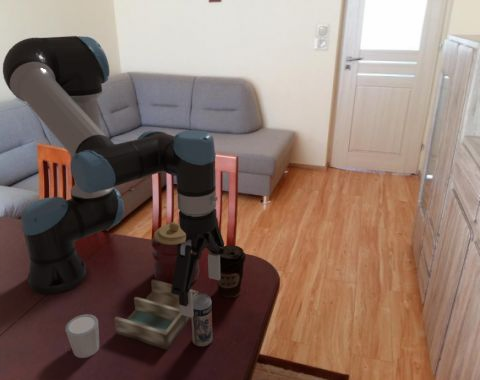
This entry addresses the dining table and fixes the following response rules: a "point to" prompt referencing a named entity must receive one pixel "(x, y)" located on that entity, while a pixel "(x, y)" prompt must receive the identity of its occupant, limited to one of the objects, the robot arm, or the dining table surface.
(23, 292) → the dining table surface
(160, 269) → the canister
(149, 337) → the caddy
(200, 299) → the beer can
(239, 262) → the coffee cup
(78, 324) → the shot glass
